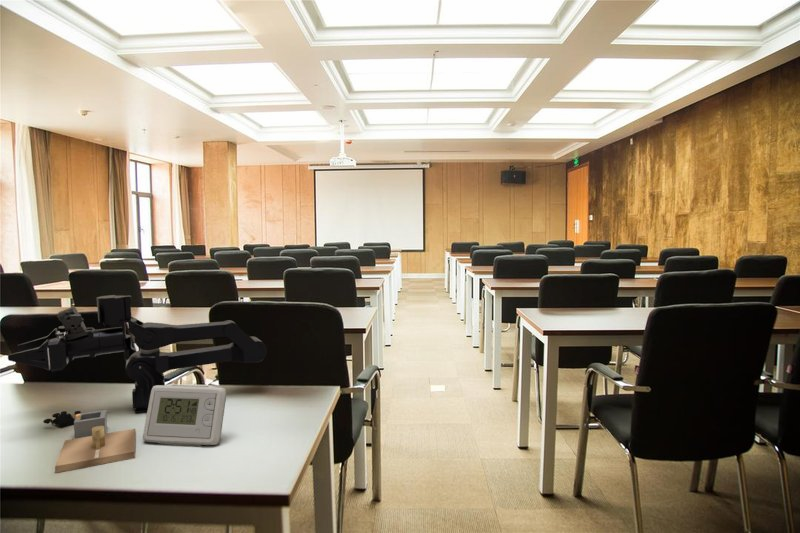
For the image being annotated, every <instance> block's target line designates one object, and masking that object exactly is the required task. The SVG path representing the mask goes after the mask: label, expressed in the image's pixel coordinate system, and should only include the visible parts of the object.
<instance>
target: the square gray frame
mask: <svg viewBox="0 0 800 533" xmlns="http://www.w3.org/2000/svg"><path fill="white" fill-rule="evenodd" d="M107 417H108V416H107V409H101V410H95V411H89V412H88V411H87V412H81V413H80V414H77V415H75V418H74V419H75V421H74V424H73V427H74V428H73V432H74V434H73V435H74V439H76V438H82V437H88V436H92V428H93V427H96V426H104V430H105V434H106V433H107V432H108V431H107V430H108V419H107Z"/></svg>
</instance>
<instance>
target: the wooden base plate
mask: <svg viewBox="0 0 800 533" xmlns="http://www.w3.org/2000/svg"><path fill="white" fill-rule="evenodd" d="M136 434H137V431H136V428H131V429H125V430H118V431H113V432H106V434H105V430H104V426H96V427H93V428H92V436H88V437H82V438H76V439H75V438H72V439H65V440H64V442H63V445H62V447H61V450H60V452H59V455H58V458H57V461H56V463H55V465H54V473H55V474H58V473H63V472H68V471H74V470H80V469H84V468H88V467H95V466H100V465H103V464H110V463H114V462H120V461H124V460H130V459H131V460H132V459H134V458H135V459H136Z"/></svg>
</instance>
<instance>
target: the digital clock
mask: <svg viewBox="0 0 800 533" xmlns="http://www.w3.org/2000/svg"><path fill="white" fill-rule="evenodd" d="M226 400H227V390H226V388H224V387H220V386H219V387H215V386H214V387H213V386H209V385H185V384H180V385H179V384H178V385H177V384H172V385H166V384H165V385H156V386H153V388H152V390H151V395H150V400H149V405H148V411H147V412H146V418H145V423H144V428H143V435H142V439H143V441H144V442H147V443H158V444H161V445H180V446H197V447H201V446H203V445H205V446H215V445H218V444H219V443H220V442H221V437H222V430H223V422H224V415H225V407H226Z"/></svg>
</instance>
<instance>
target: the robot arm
mask: <svg viewBox="0 0 800 533" xmlns="http://www.w3.org/2000/svg"><path fill="white" fill-rule="evenodd" d="M131 306H132V295H116V294H111V295H109V294H108V295H100V296H98V297H96V307H97V318H98V319H97V320H98V323H101V324H102V325H103V326H104V327H108V328H101V329H100V328H99V329H95V327H91V326H90V327H86V325H85V323H84V318H82V314H81V313H79V311H78V310H77V308H76V307H75V306H71V307H68V308H65V309H63V310H61V311H58V313H57V314H56V317H57V320H58V321H60V322H61V323H62V325H60V326H58V328H57V327H56V328H54V329H53V330H52V331H51V332H50V333H49V334H48V335H47V336H43V337H40V338H37V339H34V340H33V339H32V340H30V341H27V342H24V343H20V344H17V346H16V349H17V352H14V353H11V354H8V355H7V360H8V361H9V362H13V363H14V362H15V363H17V364H18V363H19V364H23V365H28V366H33V367H37V368H42V369H45V370H46V371H50V372H58V371H63V370H64V369H65V368H66V367H67V365H68V364H69V362H73V361H74V359H78V358H84V357H89V359H93V358H96V356H100V355H107V354H113V353H121V352H123V355H124V360H125V373H126V375H127V377H128V378H130V379H131V380H133V381H135V382H134V388H133V389H132V390H131V394H132V395H131V396H132V400H131V401H132V409H133V410H134V414H141V413H147V411H148V405H149V400H150V395H151V390H152V388H153V386H156V385H166V384H165V383H166V381H165V375H164V373H166V372H169V371H172V370H179V369H185V368H186V369H187V368H192V367H193V368H194V367H199V366H204V365H205V366H206V365H212V364H218V363H219V364H221V363H225V362H227V363H228V362H235V363H241V364H242V363H246V364H251V363H252V364H253V363H254V364H256V363H257V364H258V363H261V362H262V361H264V359H265V358H266V357H267V354H268V347H267V345H266V343H264V342H263V340H261V339H259V338H258V337H256V336H250V335H249V334H247V333H246V332H245V330H242V329H241V328H240V327H239V325H238V324H237V323H236V322H235V321H233V320H230V319H229V320H228V319H227V320H224V321H213V322H212V321H211V322H200V323H189V324H187V323H186V324H170V323H169V324H168V323H164V322H163V323H161V322H150V321H149V322H148V321H147V322H143V321H141V320H139V319H137V318H136V317H133V316H132V307H131ZM126 323H127V326H128V331H129V333H131V334H132V335H131V334H126ZM118 326H119V327H118ZM132 336H133V337H134V338H133V340H134V343H135V345H136V346H137V347H138V348H139V350H137V348H134V347H133V345H132V343H133V342H132ZM223 338H228V339H230V340H231V341H232V342H231V343H229V344H221V345H217V346H216V345H215V346H209V347H201V348H199V347H198V348H195V349H194V348H193V349H187V350H186V349H184V350H178V351H177V350H176V351H170V352H165V351H161V350H160V348H165V347H168V346H169V345H172V344H175V343H181V342H190V341H191V342H192V341H193V342H194V341H201V340H213V339H223ZM18 351H19V352H18Z"/></svg>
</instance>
